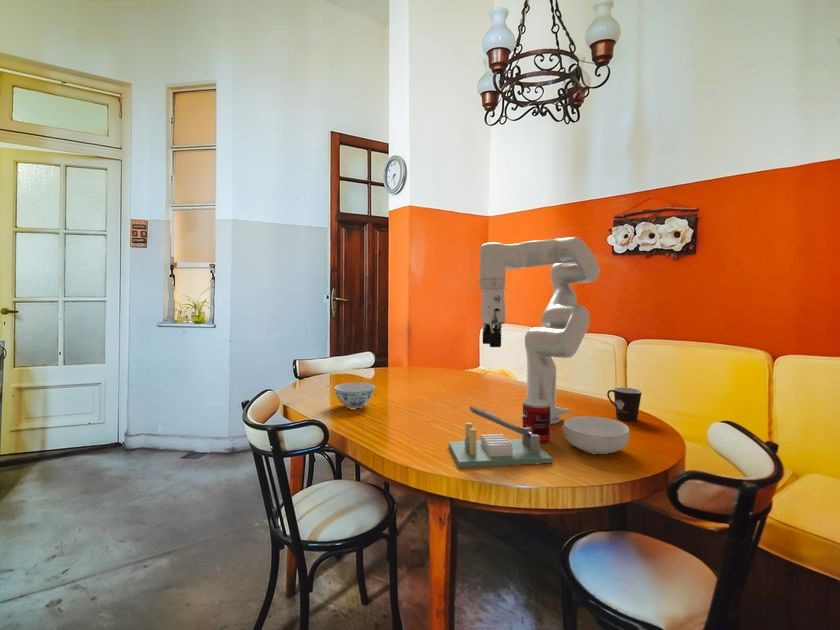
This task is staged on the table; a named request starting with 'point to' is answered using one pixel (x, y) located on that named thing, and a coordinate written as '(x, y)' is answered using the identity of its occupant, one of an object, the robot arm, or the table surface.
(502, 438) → the clamp board
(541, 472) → the table surface
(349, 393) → the chinaware
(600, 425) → the cereal bowl
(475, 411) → the grey hinged clamp lever
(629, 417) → the coffee mug
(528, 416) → the canned food
